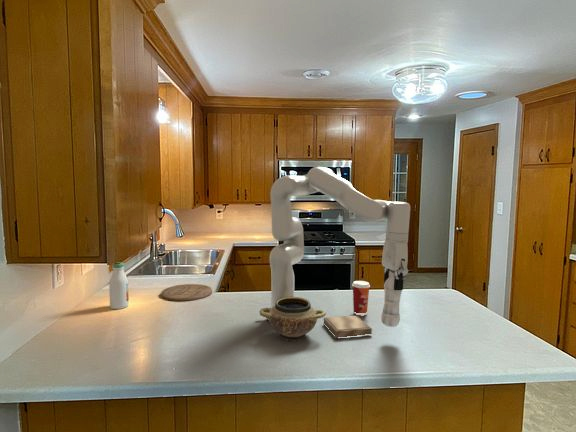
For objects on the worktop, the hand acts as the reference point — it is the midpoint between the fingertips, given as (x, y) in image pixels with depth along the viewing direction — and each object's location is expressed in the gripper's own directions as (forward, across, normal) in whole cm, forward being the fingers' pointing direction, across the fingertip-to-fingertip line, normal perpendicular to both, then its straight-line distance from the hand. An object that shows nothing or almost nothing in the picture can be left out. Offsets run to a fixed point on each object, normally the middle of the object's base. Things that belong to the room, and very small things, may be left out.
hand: (393, 286), depth 129 cm
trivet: (+25, -74, -73) cm, 107 cm away
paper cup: (+21, -29, +2) cm, 36 cm away
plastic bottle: (+14, 0, 0) cm, 14 cm away
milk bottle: (+25, -59, -102) cm, 120 cm away
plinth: (+21, -13, -11) cm, 27 cm away
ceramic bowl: (+22, -12, -33) cm, 41 cm away
